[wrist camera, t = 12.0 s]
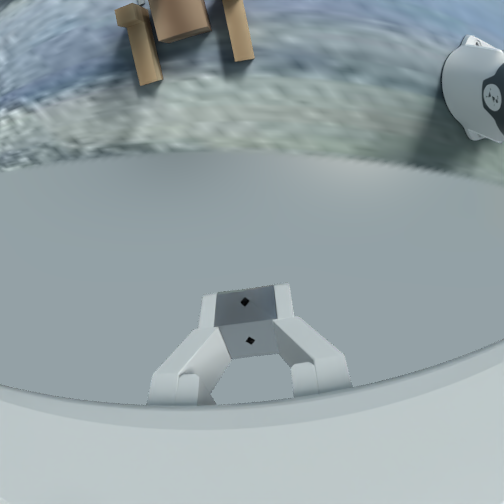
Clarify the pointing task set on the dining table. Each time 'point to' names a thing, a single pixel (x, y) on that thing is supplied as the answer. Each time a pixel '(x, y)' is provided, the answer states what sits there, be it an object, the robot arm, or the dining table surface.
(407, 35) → the dining table surface
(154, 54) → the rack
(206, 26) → the walnut block
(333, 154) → the dining table surface
